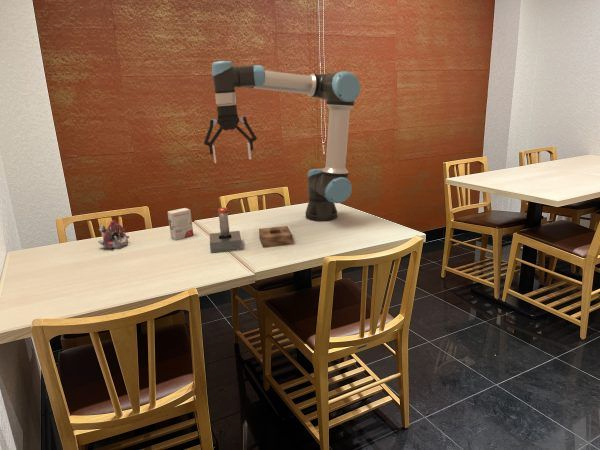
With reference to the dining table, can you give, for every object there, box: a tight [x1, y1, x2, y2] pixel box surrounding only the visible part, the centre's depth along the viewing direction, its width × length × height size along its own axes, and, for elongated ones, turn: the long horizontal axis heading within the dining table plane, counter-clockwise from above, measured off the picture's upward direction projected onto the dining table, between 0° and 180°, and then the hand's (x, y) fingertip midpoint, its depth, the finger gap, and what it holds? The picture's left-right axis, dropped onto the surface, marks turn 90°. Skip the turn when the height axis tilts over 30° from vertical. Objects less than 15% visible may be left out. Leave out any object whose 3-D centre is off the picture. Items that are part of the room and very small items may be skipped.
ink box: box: [167, 207, 194, 241], centre depth 188 cm, size 9×5×12 cm, turn 129°
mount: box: [258, 225, 294, 248], centre depth 179 cm, size 12×12×4 cm
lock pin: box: [217, 207, 230, 239], centre depth 174 cm, size 3×3×16 cm
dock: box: [209, 230, 243, 254], centre depth 175 cm, size 12×12×4 cm
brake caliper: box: [97, 219, 130, 250], centre depth 181 cm, size 11×11×12 cm
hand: (232, 160), depth 173 cm, fingers open, 13 cm apart
